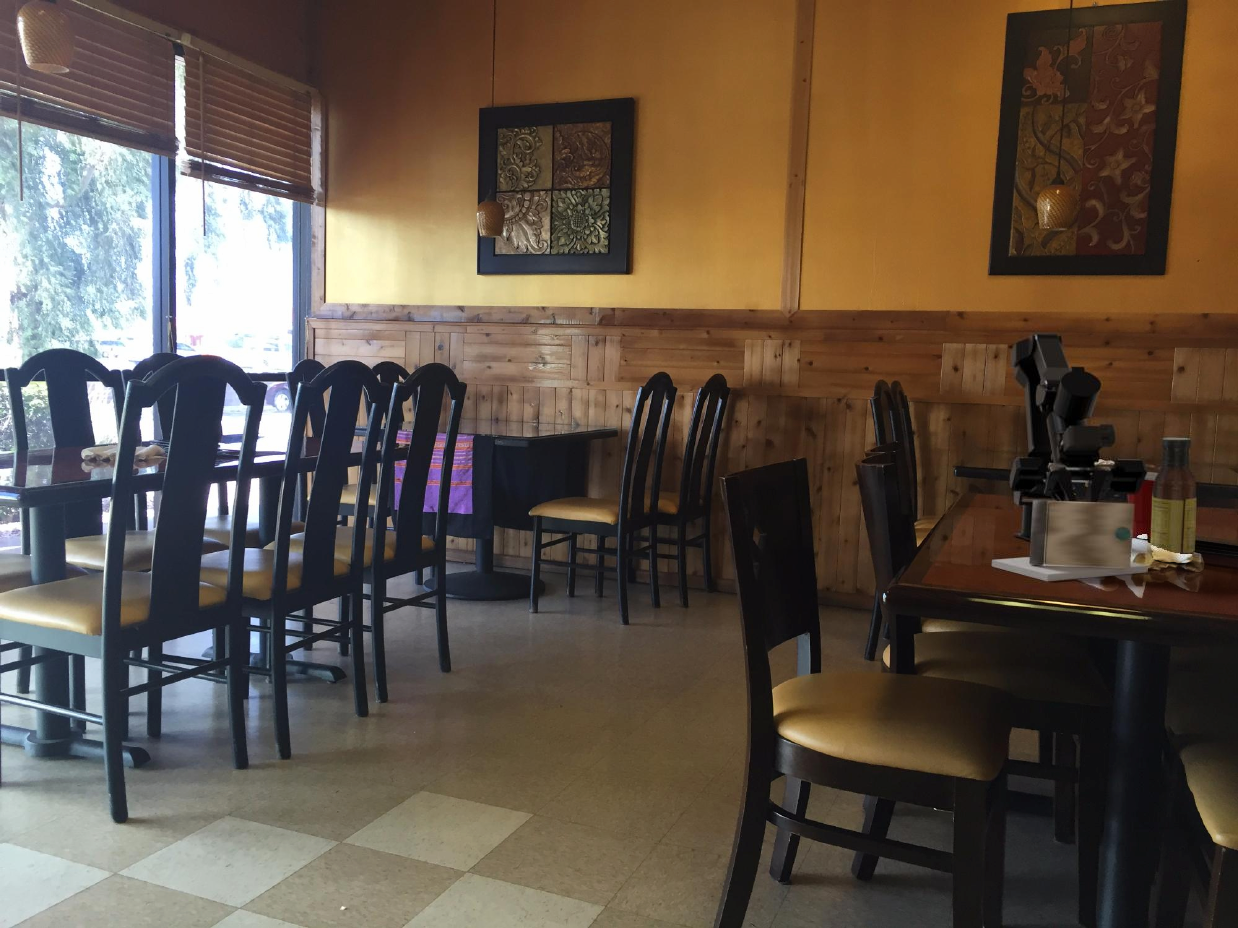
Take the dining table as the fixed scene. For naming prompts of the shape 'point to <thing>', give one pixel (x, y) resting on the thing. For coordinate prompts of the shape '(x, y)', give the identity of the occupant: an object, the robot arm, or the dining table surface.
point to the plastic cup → (1143, 506)
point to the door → (1081, 533)
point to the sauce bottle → (1174, 499)
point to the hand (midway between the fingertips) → (1084, 519)
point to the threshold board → (1063, 569)
